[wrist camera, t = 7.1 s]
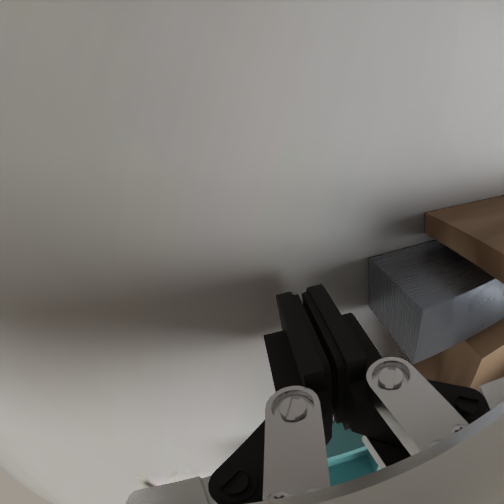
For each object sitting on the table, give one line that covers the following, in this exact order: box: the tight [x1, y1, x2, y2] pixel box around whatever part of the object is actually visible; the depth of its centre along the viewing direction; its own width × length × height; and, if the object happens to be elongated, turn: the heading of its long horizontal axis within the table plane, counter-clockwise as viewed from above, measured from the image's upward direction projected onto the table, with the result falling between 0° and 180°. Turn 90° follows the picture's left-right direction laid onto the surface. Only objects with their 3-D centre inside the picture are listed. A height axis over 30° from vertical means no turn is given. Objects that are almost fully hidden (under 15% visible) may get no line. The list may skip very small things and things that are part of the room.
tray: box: [326, 421, 380, 486], centre depth 16 cm, size 7×7×2 cm
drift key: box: [369, 240, 504, 364], centre depth 10 cm, size 2×8×4 cm, turn 101°
